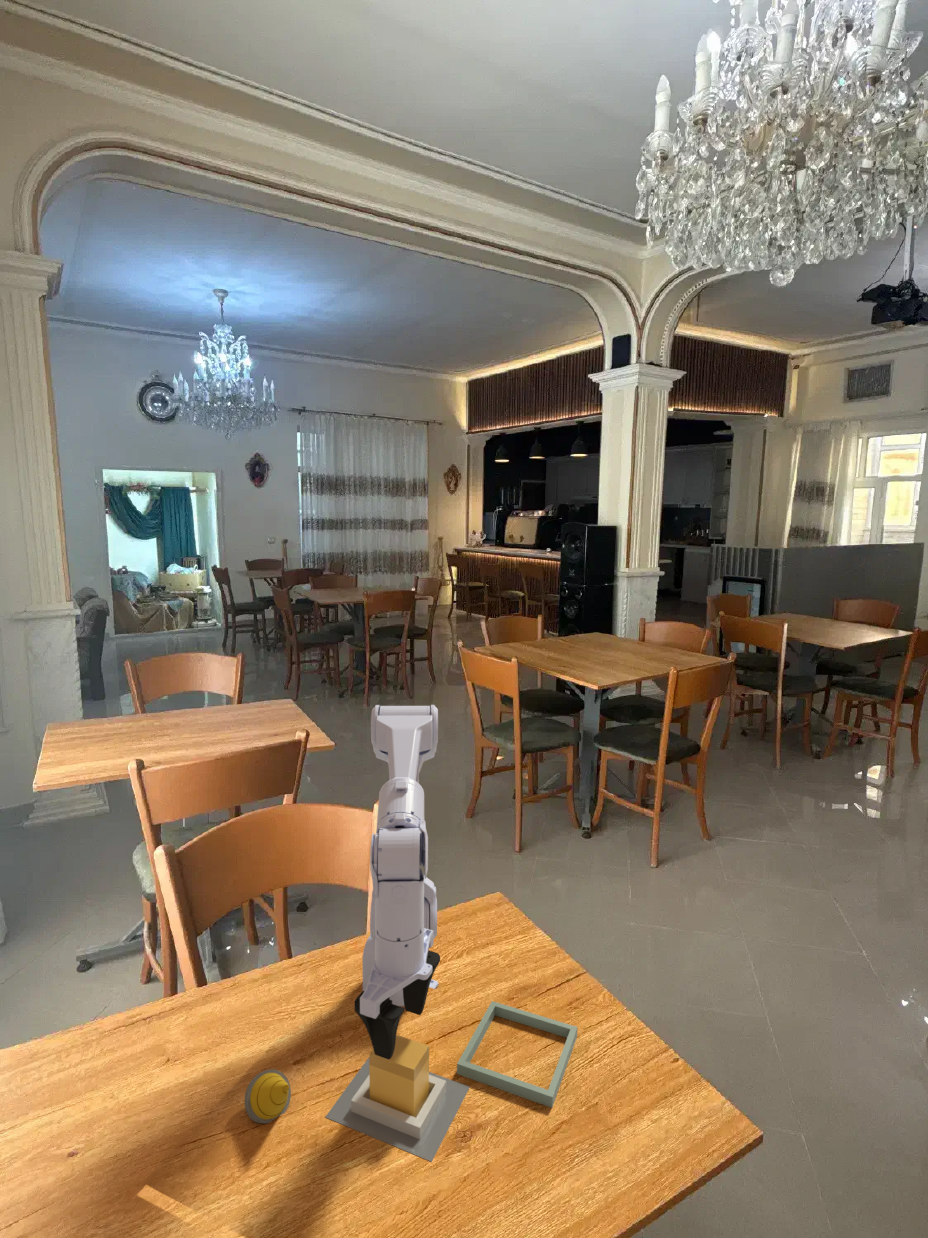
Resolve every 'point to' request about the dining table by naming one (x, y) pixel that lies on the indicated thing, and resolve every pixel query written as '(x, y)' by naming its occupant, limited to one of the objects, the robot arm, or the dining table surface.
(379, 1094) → the yellow rectangular block
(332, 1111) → the board
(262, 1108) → the yellow cone
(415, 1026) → the dining table surface
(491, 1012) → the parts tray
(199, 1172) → the dining table surface
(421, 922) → the robot arm
